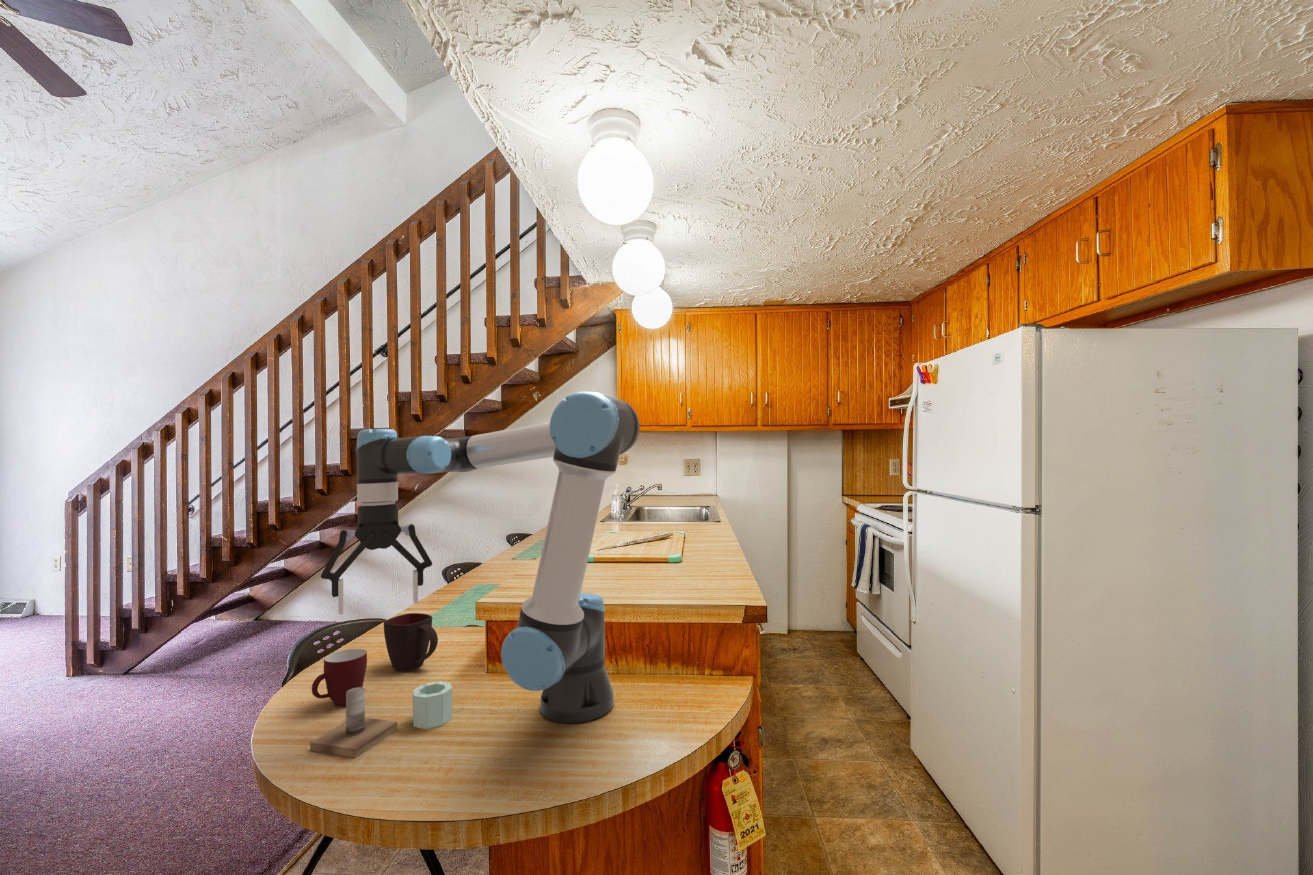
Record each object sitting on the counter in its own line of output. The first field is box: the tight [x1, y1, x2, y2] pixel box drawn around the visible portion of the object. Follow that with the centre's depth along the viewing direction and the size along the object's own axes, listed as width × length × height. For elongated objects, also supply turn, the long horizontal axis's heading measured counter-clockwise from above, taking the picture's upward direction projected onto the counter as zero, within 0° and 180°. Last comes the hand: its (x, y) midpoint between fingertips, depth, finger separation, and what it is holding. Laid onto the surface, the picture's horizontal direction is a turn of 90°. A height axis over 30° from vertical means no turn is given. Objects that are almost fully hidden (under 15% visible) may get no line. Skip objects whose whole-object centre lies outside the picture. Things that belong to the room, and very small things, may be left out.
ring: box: [412, 680, 453, 730], centre depth 107 cm, size 7×7×6 cm
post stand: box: [309, 687, 398, 759], centre depth 99 cm, size 10×10×9 cm
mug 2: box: [383, 612, 439, 673], centre depth 133 cm, size 10×14×12 cm
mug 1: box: [311, 648, 368, 707], centre depth 114 cm, size 10×8×10 cm
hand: (379, 607), depth 110 cm, fingers open, 13 cm apart
